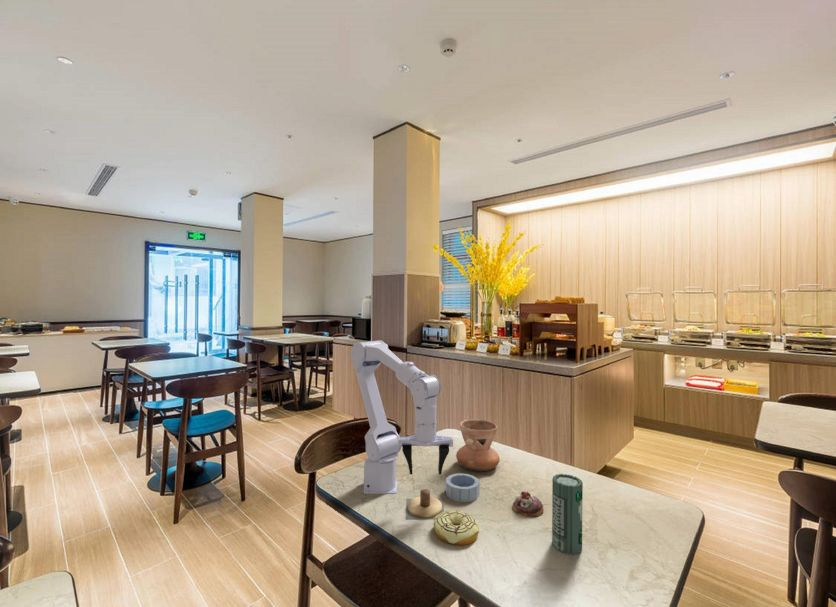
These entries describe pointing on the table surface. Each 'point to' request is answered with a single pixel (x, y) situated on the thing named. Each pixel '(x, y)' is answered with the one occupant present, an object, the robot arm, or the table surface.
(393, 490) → the robot arm
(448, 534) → the decorated donut
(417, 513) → the bamboo lid
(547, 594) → the table surface
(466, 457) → the ceramic jug
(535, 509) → the pastry
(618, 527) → the table surface
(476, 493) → the bowl
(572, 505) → the can
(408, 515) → the rubber mat
